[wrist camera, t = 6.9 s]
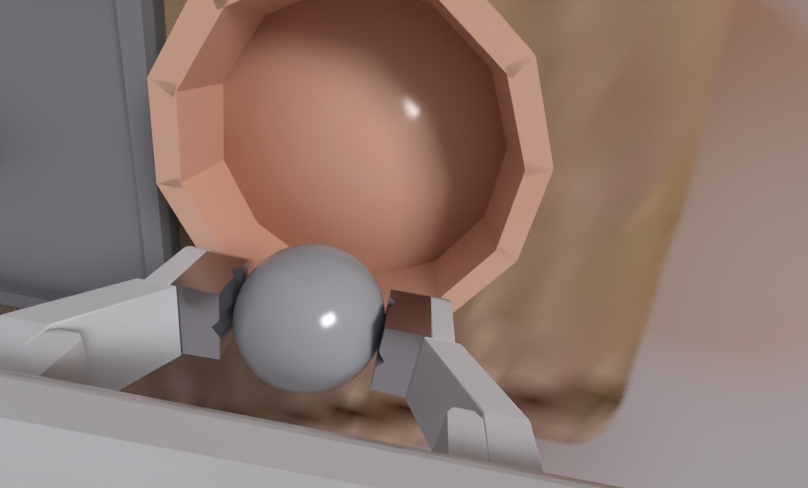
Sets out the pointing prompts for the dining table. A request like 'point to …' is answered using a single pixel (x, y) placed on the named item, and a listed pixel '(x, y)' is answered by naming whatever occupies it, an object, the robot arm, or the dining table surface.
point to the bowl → (354, 135)
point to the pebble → (308, 318)
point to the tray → (78, 148)
